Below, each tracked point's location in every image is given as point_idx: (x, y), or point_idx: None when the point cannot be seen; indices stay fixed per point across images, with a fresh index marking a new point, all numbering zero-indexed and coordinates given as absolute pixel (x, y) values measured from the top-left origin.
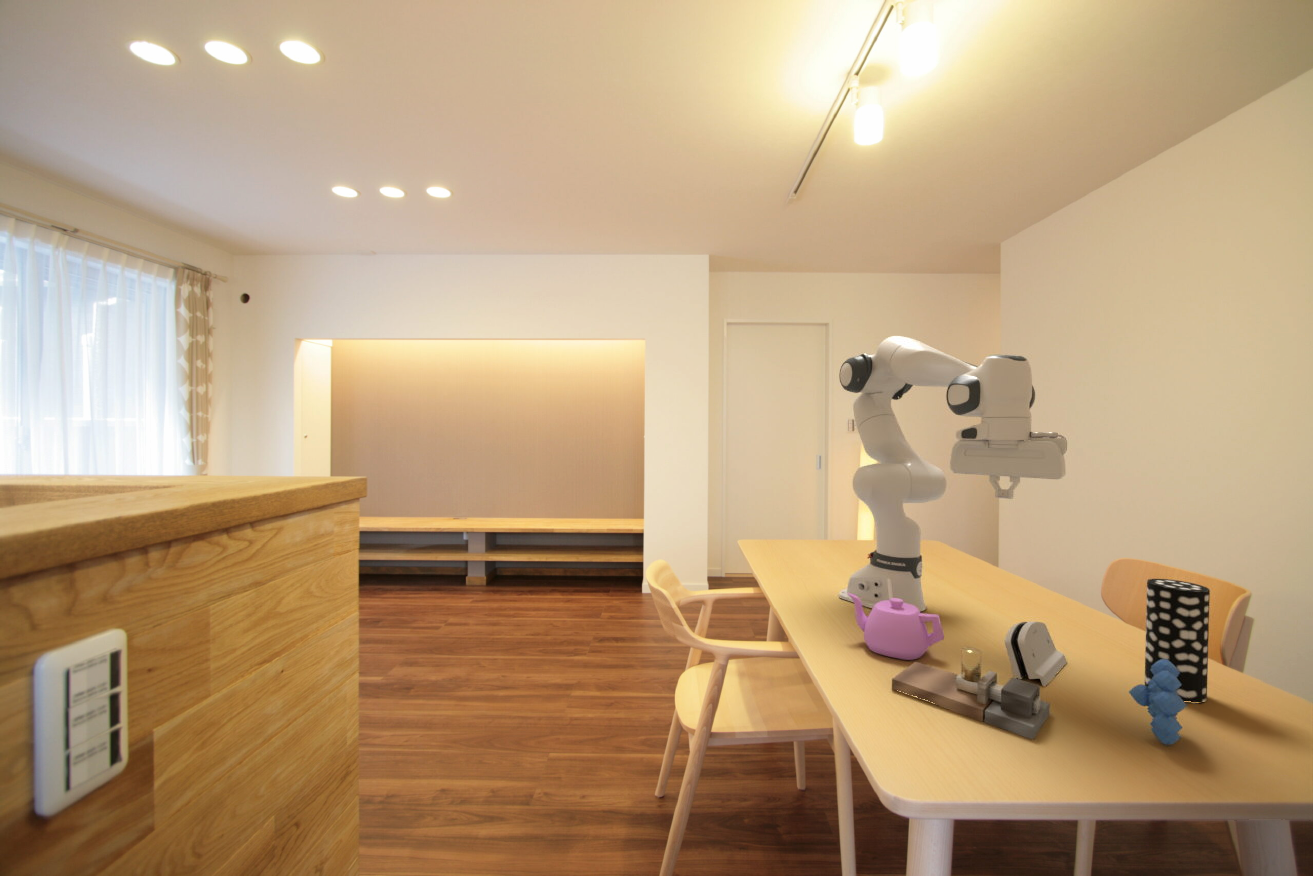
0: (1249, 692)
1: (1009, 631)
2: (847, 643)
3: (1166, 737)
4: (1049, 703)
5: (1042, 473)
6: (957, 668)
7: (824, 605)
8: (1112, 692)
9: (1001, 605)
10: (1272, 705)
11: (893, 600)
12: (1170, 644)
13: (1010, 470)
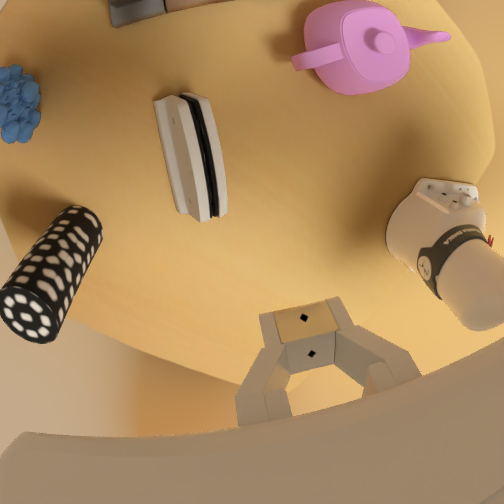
0: None
1: (214, 129)
2: None
3: (22, 74)
4: (112, 25)
5: (69, 462)
6: (255, 52)
7: (475, 140)
8: (105, 164)
9: None
10: None
11: (386, 34)
12: (46, 237)
13: (289, 461)
